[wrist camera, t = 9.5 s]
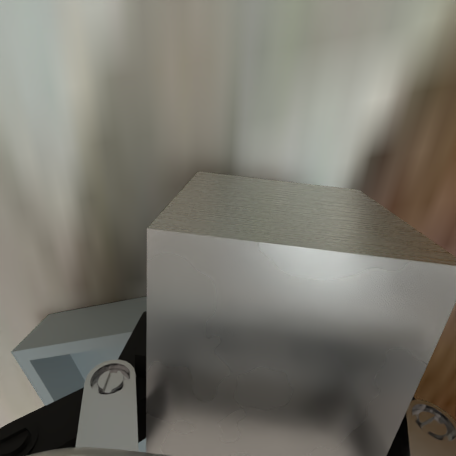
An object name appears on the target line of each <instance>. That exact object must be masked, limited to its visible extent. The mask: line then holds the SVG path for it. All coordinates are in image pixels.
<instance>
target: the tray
mask: <svg viewBox="0 0 456 456" xmlns="http://www.w3.org/2000/svg"><path fill="white" fill-rule="evenodd" d="M145 311H147V296H146V297H141V298H135V299H130V300H124V301H119V302H114V303H108V304H103V305H97V306H92V307H87V308H81V309H76V310H70V311H65V312H59V313H54V314H49V315H48V316H47V317H46V318H45V319H44V320H43V321H42V322H41V323H40V324H39V325H38V326H37V327H36V328H35V329H34V330H33V331H32V332H31V333H30V334H29V335H28V336H27V337H26V338H25V339H24V340H23V341H22V342H21V343H20V344H19V345H18V346H17V347H16V348H15V349H14V350H13V351H12V354H13V356H14V357H15V359H16V360H17V362H18V364H19V365H20V367H21V368H22V370H23V372H24V373H25V375H26V376H27V378H28V379H29V381H30V383H31V384H32V386H33V387H34V389H35V391H36V392H37V394H38V395H39V397H40V398H41V400H42V402H43V403H44V405H45V406H46V405H48V404H50V403H52V402H54V401H56V400H58V399H61V398H63V397H65V396H67V395H69V394H71V393H73V392H75V391H77V390H79V389H81V388H83V387H84V383H85V380H86V377H87V375H88V374H89V372H90V371H91V370H92V369H93V368H94V367H96V366H97V365H99V364H101V363H103V362H105V361H109V360H118V358H119V356H120V354H121V352H122V351H123V349H124V347H125V345H126V343H127V341H128V339H129V338H130V336H131V334H132V332H133V330H134V328H135V326H136V324H137V323H138V321H139V319H140V317H141V315H142V314H143V312H145ZM138 449H139V452H146V438H145V439H144V440H142V441H141V442H139V443H138Z"/></svg>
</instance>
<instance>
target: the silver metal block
mask: <svg viewBox="0 0 456 456" xmlns="http://www.w3.org/2000/svg"><path fill="white" fill-rule="evenodd" d="M455 302H456V257H455V256H453V255H452V254H450V253H449V252H447V251H446V250H445V249H443V248H442V247H440V246H439V245H437V244H436V243H434V242H433V241H432V240H430V239H429V238H427V237H426V236H424V235H423V234H422V233H420V232H419V231H417V230H416V229H414V228H413V227H411V226H410V225H409V224H407V223H406V222H404V221H403V220H401V219H400V218H398V217H397V216H396V215H394V214H393V213H391V212H390V211H388V210H387V209H386V208H384V207H383V206H381V205H380V204H378V203H377V202H375V201H374V200H373V199H371V198H370V197H368V196H367V195H365V194H364V193H362V192H361V191H360V190H354V189H346V188H337V187H328V186H320V185H311V184H302V183H294V182H285V181H276V180H268V179H259V178H250V177H242V176H233V175H225V174H216V173H207V172H199V171H198V172H197V174H196V175H195V176H194V177H193V178H192V179H191V180H190V181H189V182H188V184H187V185H186V186H185V187H184V188H183V189H182V190H181V191H180V192H179V194H178V195H177V196H176V197H175V198H174V199H173V200H172V201H171V202H170V204H169V205H168V206H167V207H166V208H165V209H164V210H163V211H162V212H161V214H160V215H159V216H158V217H157V218H156V219H155V220H154V221H153V222H152V224H151V225H150V226H149V227H148V228H147V347H146V453H154V454H163V455H170V456H387V453H388V451H389V449H390V447H391V445H392V442H393V440H394V438H395V436H396V433H397V431H398V429H399V427H400V425H401V422H402V420H403V418H404V416H405V413H406V411H407V409H408V407H409V405H410V402H411V400H412V398H413V396H414V393H415V391H416V389H417V387H418V385H419V382H420V380H421V378H422V376H423V373H424V371H425V369H426V367H427V365H428V362H429V360H430V358H431V356H432V354H433V351H434V349H435V347H436V345H437V342H438V340H439V338H440V336H441V334H442V331H443V329H444V327H445V325H446V322H447V320H448V318H449V316H450V314H451V311H452V309H453V307H454V305H455Z"/></svg>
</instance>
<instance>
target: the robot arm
mask: <svg viewBox="0 0 456 456" xmlns="http://www.w3.org/2000/svg"><path fill="white" fill-rule="evenodd" d="M146 347H147V311H145V312H143V314H142V315H141V317H140V319H139V321H138V323H137V324H136V326H135V328H134V330H133V332H132V334H131V336H130V338H129V339H128V341H127V343H126V345H125V347H124V349H123V351H122V352H121V354H120V356H119V358H118V360H109V361H105V362H103V363H101V364H99V365H97V366H96V367H94V368H93V369H92V370H91V371H90V372H89V374H88V375H87V377H86V380H85V383H84V387H83V388H81V389H79V390H77V391H75V392H73V393H71V394H69V395H67V396H65V397H63V398H61V399H58V400H56V401H54V402H52V403H50V404H48V405H46V406H44V407H42V408H40V409H38V410H36V411H34V412H31V413H29V414H27V415H25V416H23V417H21V418H19V419H17V420H15V421H13V422H11V423H9V424H7V425H5V426H4V427H2V428H0V456H170V455H163V454H154V453H146V452H139V449H138V443H139V442H141V441H142V440H144V439H145V438H146ZM387 456H456V422H455V421H454V419H453V418H452V417H451V416H450V415H449V414H447V413H446V412H445V411H444V410H442V409H441V408H439V407H438V406H436V405H434V404H432V403H430V402H427V401H423V400H415V398H414V396H413V398H412V400H411V402H410V405H409V407H408V409H407V411H406V413H405V416H404V418H403V420H402V422H401V425H400V427H399V429H398V431H397V433H396V436H395V438H394V440H393V442H392V445H391V447H390V449H389V451H388V453H387Z"/></svg>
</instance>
